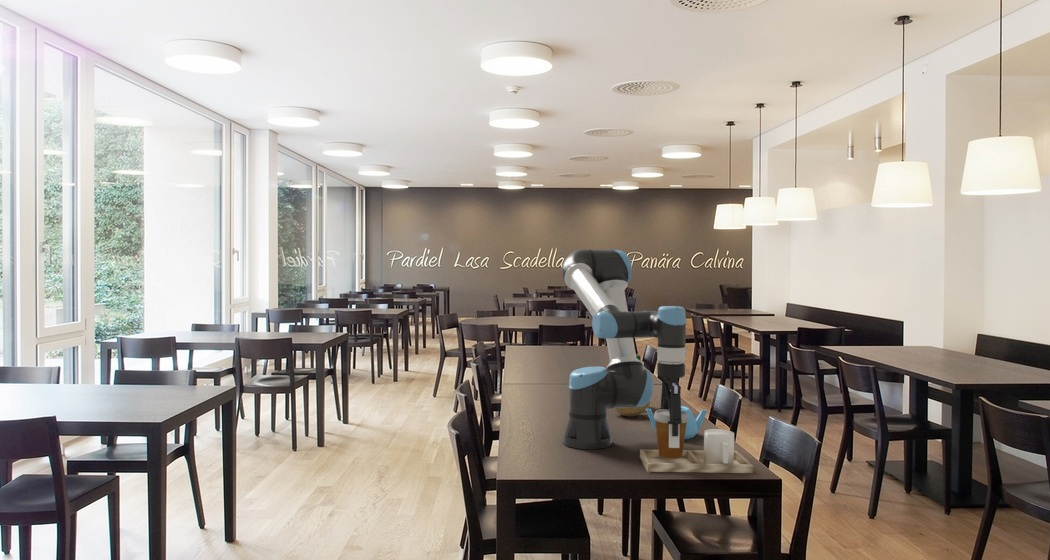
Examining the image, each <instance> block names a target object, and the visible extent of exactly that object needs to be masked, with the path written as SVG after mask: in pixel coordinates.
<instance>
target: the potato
mask: <svg viewBox="0 0 1050 560" xmlns="http://www.w3.org/2000/svg"><path fill="white" fill-rule="evenodd" d="M650 405H651V401H649V402H648V403H647V404H646V405H645V406H640V407H635V408H631V407H628V408H613V409H614V410H615V411H616V412H617V413H618V414H620V415H622V416H625V417H636V416H638V415H641V414H644V413H646V412H647V411H646V409H650Z"/></svg>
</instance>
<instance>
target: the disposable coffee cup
mask: <svg viewBox="0 0 1050 560" xmlns="http://www.w3.org/2000/svg"><path fill="white" fill-rule="evenodd" d="M653 417H654V419H655V424H656V431H655V433H656V439H657V448H658V449H657V450H659V455H660V456H661V457H664V458H673V459H674V458H680V457H682V453H683V450H684V445H685V444H684V443H685V439H684V438H685V431H686V423H687V421H688V419H689V418H688V417H687V413H686V412H684V411H681V420H682V423H680V434H679V448H669V424H668V423H667V422H668V421H670V415H669V409H662V410H661V409H657V410H655V412H654V416H653ZM674 419H677V418H674Z"/></svg>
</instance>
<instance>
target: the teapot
mask: <svg viewBox="0 0 1050 560" xmlns="http://www.w3.org/2000/svg"><path fill="white" fill-rule="evenodd" d="M681 411H684V412H686V413H687V417H688V418H689V419H688V421H687V423H686V431H685V438H684V440H689V439H690V438H691V439H693V438H694V437H695V436H696V435H697V434H698V431H699V430H700V429H701V426H702V424H703V422H704V419H705V417H706V415H707V413H708V410H707V409H701V411H700V412H699V414H698V416H697V417H696V418H695V416H694V414H693V412H692V410H691V408H689V407H687V406H683V405H681ZM645 412H646V413H647V416H648V418H649V421H650V424H651V426H652V427H653V429H654V431H655V432H656V424H655V419H654V417H653V416H654V415H655V413H653V411H652V409H651V408H648V409H646V411H645Z"/></svg>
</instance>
